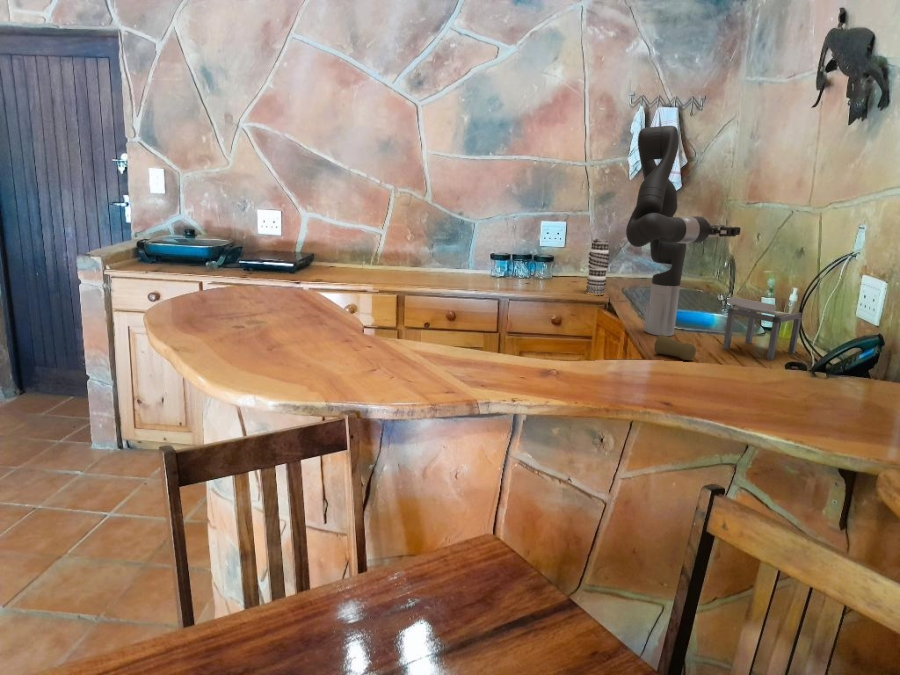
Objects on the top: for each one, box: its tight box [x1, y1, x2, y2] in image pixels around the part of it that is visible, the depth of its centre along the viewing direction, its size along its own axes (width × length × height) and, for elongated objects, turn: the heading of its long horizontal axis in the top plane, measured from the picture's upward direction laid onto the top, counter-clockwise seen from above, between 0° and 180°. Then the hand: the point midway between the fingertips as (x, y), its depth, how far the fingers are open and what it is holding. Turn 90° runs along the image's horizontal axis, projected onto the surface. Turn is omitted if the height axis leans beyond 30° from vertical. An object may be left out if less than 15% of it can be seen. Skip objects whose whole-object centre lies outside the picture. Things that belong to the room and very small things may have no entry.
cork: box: [653, 334, 697, 361], centre depth 193 cm, size 6×6×11 cm
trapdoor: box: [728, 296, 789, 316], centre depth 201 cm, size 12×18×3 cm, turn 128°
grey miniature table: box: [722, 306, 803, 361], centre depth 204 cm, size 16×16×13 cm
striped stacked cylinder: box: [585, 238, 610, 294], centre depth 292 cm, size 9×9×25 cm
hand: (726, 229), depth 191 cm, fingers open, 8 cm apart
